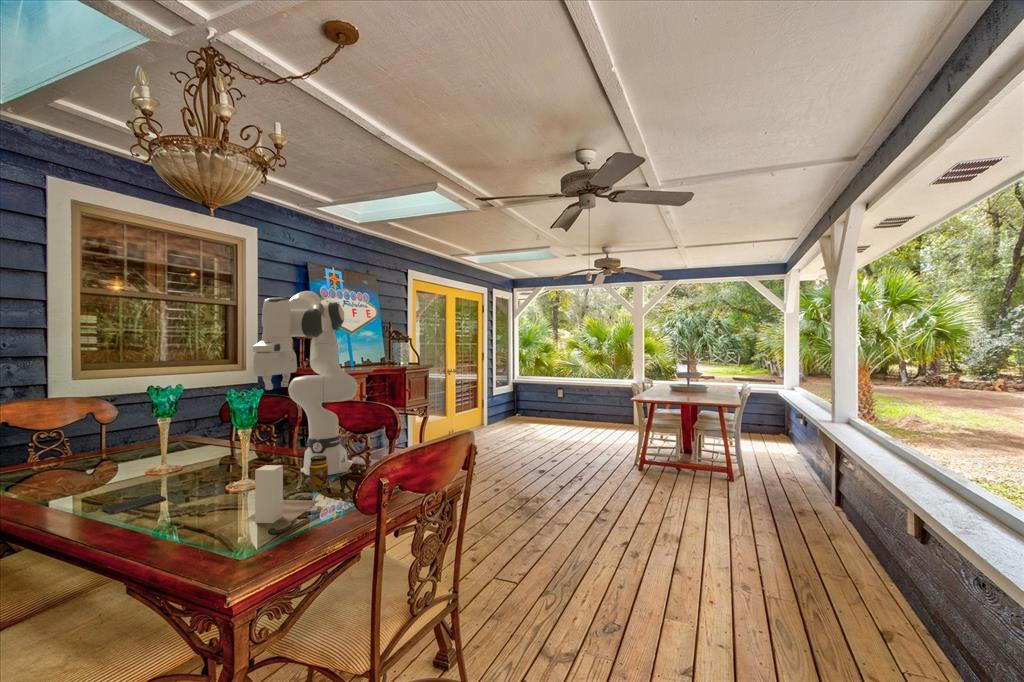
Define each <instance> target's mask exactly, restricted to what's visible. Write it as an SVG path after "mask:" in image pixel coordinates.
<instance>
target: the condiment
mask: <svg viewBox="0 0 1024 682" xmlns="http://www.w3.org/2000/svg"><path fill="white" fill-rule="evenodd" d="M310 460H311V462H310V466H309V475H308V476H309V477H308V478H309V479H308V481H309V482H308V483H309V485H308V486H309V491H315V492H317V491H322V490H326V489H328V488H329V475H328V464H327V457H326V456H323V455H319V456H313V457H311V459H310Z"/></svg>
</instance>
